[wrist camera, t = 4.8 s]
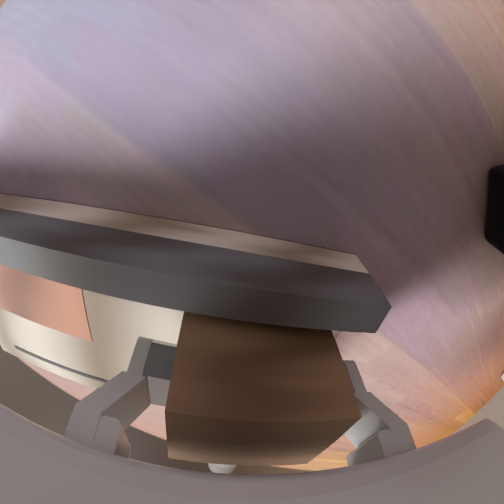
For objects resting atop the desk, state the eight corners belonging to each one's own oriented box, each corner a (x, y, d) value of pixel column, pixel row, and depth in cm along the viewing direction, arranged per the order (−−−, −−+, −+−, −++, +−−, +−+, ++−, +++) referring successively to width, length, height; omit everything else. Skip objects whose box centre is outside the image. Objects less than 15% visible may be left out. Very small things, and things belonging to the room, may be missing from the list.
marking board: (355, 254, 11) (391, 306, 8) (281, 398, 16) (287, 444, 13) (-28, 189, 8) (-69, 215, 5) (11, 336, 13) (-9, 368, 10)
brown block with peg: (321, 304, 10) (361, 417, 6) (263, 414, 14) (269, 488, 10) (190, 284, 10) (164, 410, 5) (179, 406, 14) (171, 482, 9)
